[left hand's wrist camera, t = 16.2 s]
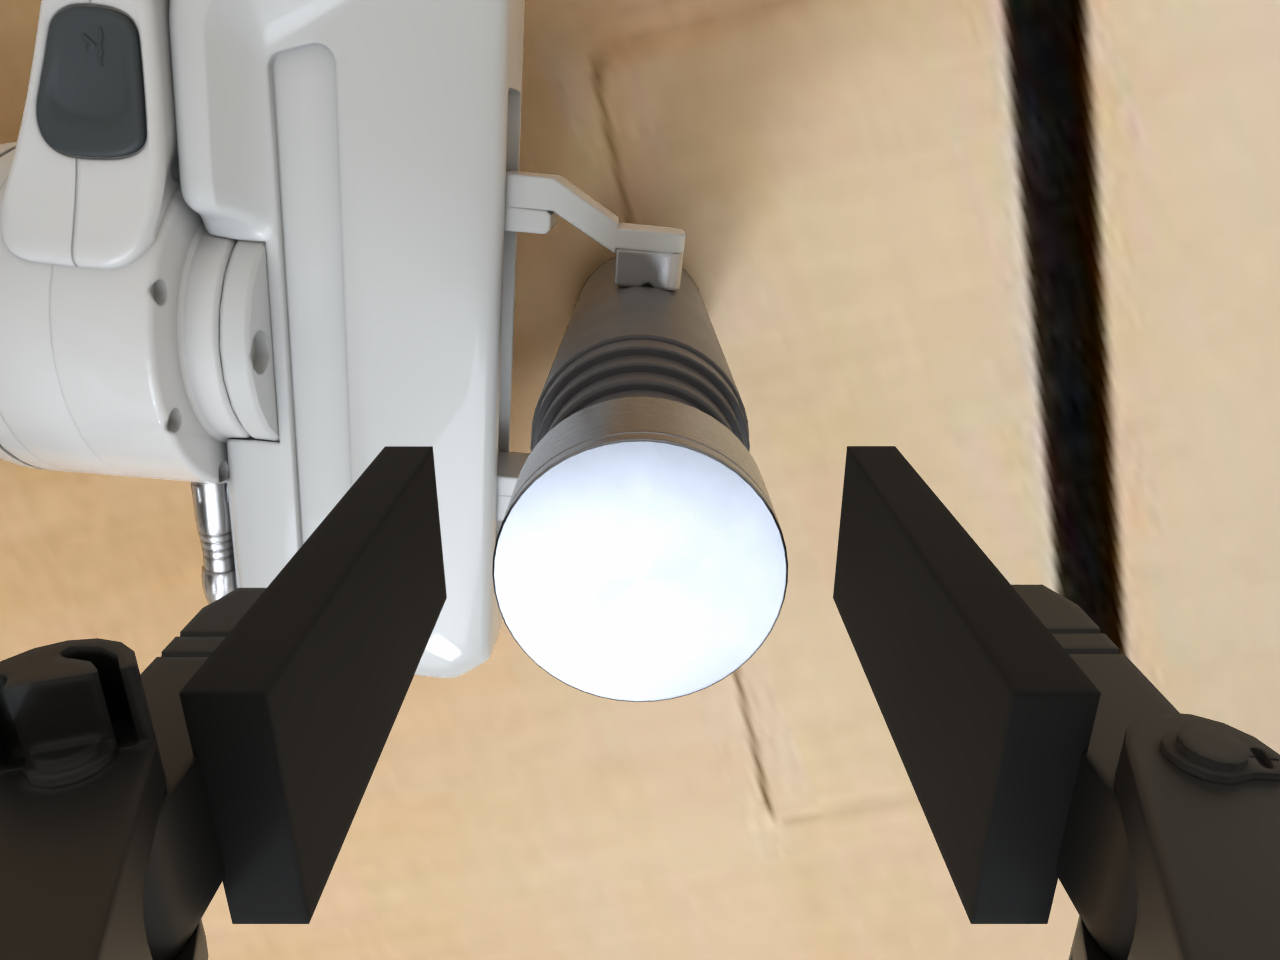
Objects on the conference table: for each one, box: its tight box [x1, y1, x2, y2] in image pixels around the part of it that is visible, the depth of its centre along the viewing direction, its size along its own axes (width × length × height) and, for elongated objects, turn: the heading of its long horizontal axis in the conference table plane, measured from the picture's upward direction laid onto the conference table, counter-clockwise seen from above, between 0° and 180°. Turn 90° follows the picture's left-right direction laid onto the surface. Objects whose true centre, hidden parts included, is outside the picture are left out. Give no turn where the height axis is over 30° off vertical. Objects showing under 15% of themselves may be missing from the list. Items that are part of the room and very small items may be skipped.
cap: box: [492, 397, 788, 702], centre depth 13 cm, size 4×4×2 cm
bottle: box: [531, 257, 750, 452], centre depth 22 cm, size 4×4×19 cm
